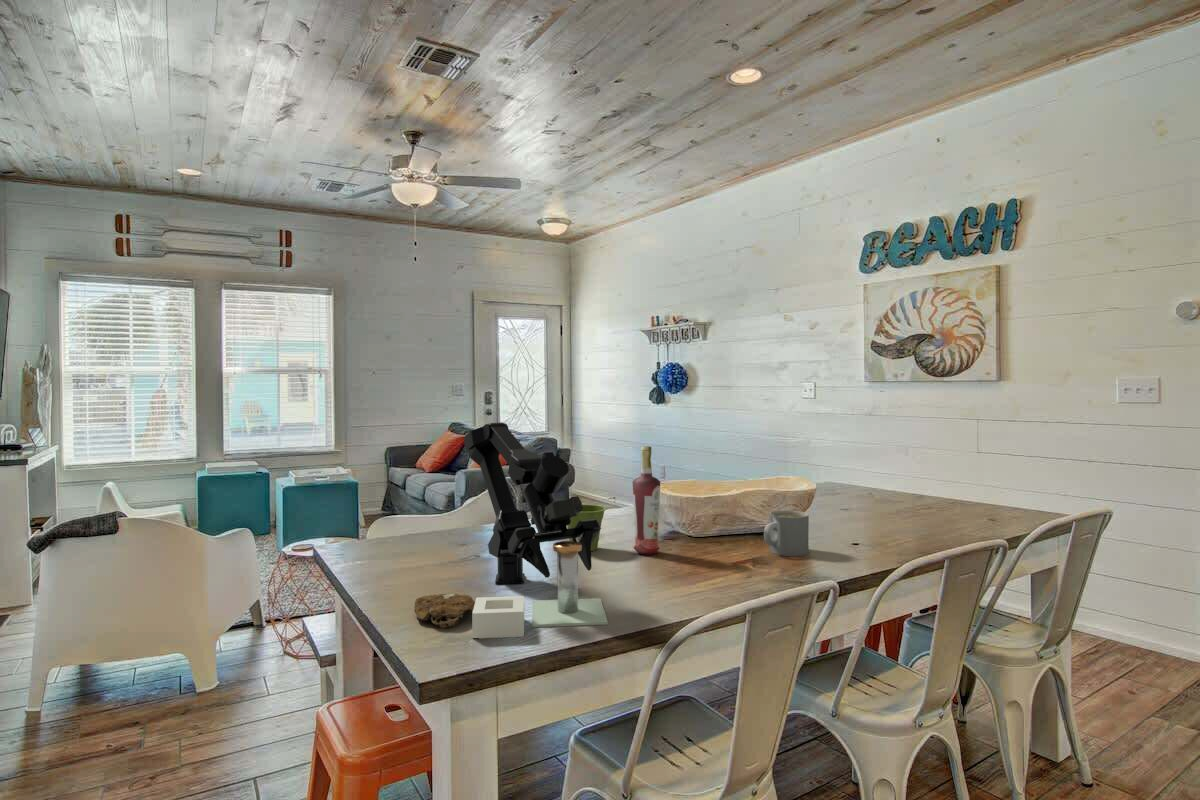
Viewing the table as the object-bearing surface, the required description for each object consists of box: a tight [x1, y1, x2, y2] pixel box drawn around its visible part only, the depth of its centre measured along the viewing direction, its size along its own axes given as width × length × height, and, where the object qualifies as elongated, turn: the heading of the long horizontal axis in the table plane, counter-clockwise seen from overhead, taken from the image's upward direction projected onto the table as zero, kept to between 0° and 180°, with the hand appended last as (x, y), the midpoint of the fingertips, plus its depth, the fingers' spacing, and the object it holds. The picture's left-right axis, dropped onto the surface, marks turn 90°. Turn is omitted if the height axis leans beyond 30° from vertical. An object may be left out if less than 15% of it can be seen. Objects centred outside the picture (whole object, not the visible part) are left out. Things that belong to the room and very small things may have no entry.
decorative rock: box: [413, 593, 476, 629], centre depth 134 cm, size 11×4×15 cm
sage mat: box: [531, 597, 609, 628], centre depth 135 cm, size 14×14×1 cm
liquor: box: [632, 446, 661, 556], centre depth 182 cm, size 7×7×28 cm
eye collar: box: [471, 595, 525, 639], centre depth 127 cm, size 9×9×4 cm
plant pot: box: [566, 503, 607, 552], centre depth 187 cm, size 12×12×11 cm
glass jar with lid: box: [552, 540, 582, 614], centre depth 135 cm, size 6×6×13 cm
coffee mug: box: [763, 509, 810, 557], centre depth 183 cm, size 13×10×10 cm
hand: (569, 572), depth 135 cm, fingers open, 9 cm apart
